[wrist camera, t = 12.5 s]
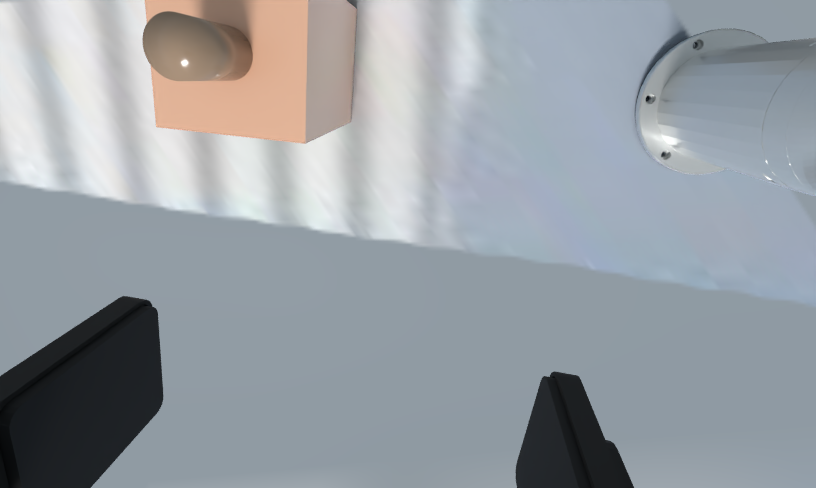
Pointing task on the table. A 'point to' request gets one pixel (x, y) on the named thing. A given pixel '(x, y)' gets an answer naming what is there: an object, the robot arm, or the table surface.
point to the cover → (252, 66)
